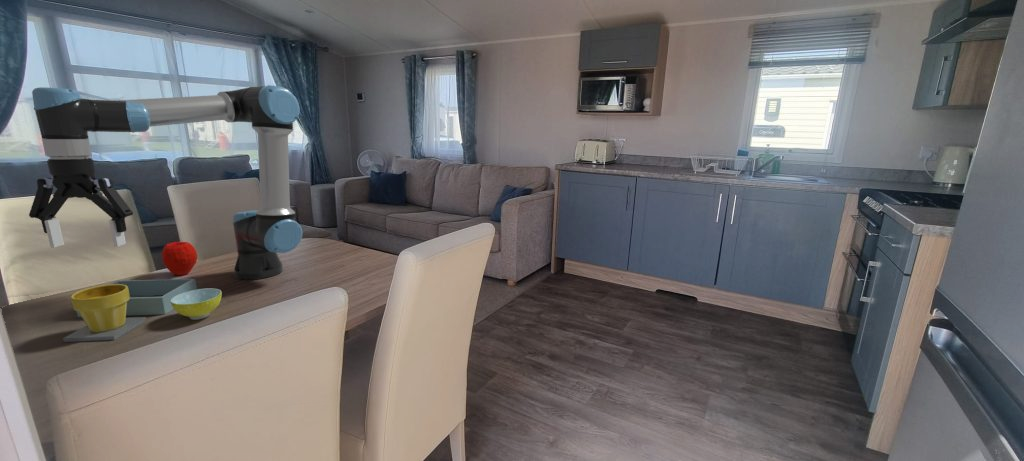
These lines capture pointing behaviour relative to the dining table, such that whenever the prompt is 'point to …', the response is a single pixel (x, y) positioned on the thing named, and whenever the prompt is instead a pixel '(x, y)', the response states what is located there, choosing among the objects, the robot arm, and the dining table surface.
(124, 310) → the plant pot
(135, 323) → the plate
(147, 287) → the crate
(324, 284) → the dining table surface
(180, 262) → the apple
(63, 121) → the robot arm
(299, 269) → the dining table surface
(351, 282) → the dining table surface
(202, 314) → the bowl
